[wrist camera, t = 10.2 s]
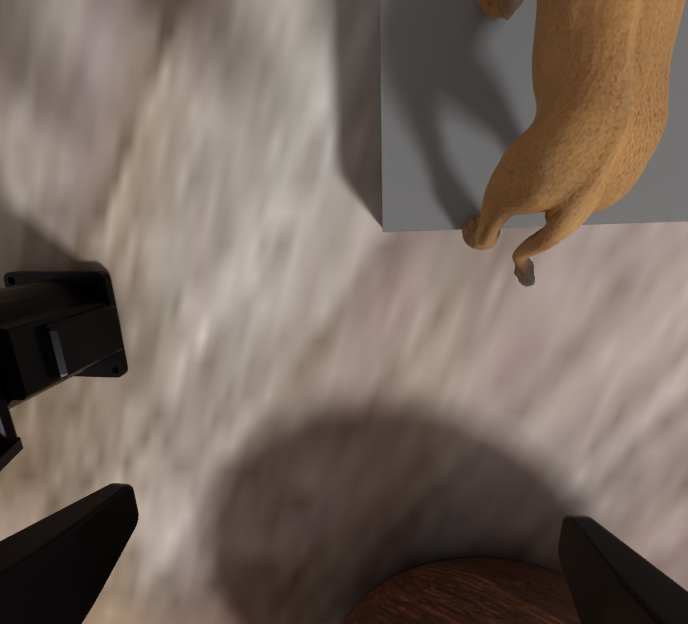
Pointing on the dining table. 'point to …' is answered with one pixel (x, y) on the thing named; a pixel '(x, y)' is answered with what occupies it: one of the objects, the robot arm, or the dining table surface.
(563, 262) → the dining table surface
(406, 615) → the wooden bowl
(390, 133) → the grey block
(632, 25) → the lion figurine
